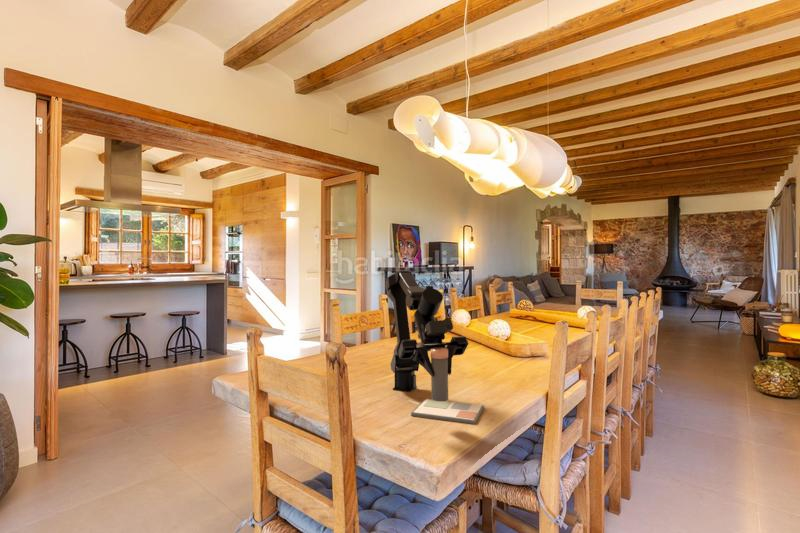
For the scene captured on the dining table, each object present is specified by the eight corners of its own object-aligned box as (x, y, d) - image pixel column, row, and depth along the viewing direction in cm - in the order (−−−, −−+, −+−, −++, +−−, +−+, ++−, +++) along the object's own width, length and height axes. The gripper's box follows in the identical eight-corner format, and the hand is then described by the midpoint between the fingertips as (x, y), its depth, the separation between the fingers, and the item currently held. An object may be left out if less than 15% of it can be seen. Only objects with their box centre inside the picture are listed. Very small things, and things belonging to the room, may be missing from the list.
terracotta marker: (429, 400, 108) (428, 350, 107) (433, 395, 112) (432, 347, 112) (447, 402, 106) (446, 351, 106) (450, 396, 111) (449, 348, 110)
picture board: (411, 415, 116) (411, 412, 116) (425, 401, 128) (425, 397, 128) (475, 424, 109) (475, 420, 109) (484, 407, 121) (484, 404, 121)
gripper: (400, 310, 110) (413, 360, 100) (465, 307, 115) (484, 355, 105) (393, 334, 118) (405, 384, 107) (454, 331, 123) (470, 377, 112)
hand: (441, 374), depth 108 cm, fingers closed on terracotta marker, 4 cm apart
